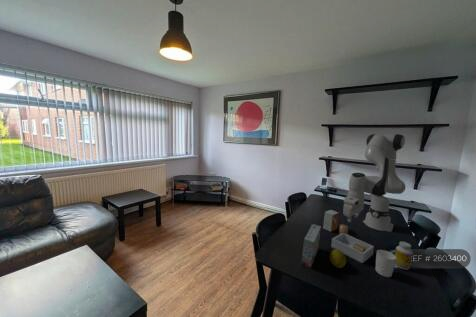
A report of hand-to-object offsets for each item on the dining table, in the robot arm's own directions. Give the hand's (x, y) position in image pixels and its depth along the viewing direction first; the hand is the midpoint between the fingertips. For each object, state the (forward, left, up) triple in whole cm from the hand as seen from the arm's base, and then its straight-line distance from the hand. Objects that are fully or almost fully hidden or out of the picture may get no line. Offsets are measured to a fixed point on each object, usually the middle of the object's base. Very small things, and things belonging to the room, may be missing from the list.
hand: (352, 219), depth 122 cm
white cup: (+13, +23, -16) cm, 31 cm away
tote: (+9, +5, -16) cm, 19 cm away
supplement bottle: (-1, +26, -16) cm, 31 cm away
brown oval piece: (-5, -7, -16) cm, 18 cm away
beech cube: (+9, +9, -15) cm, 20 cm away
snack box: (+35, -5, -16) cm, 39 cm away
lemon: (+29, +7, -16) cm, 34 cm away
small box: (-6, -17, -16) cm, 25 cm away
